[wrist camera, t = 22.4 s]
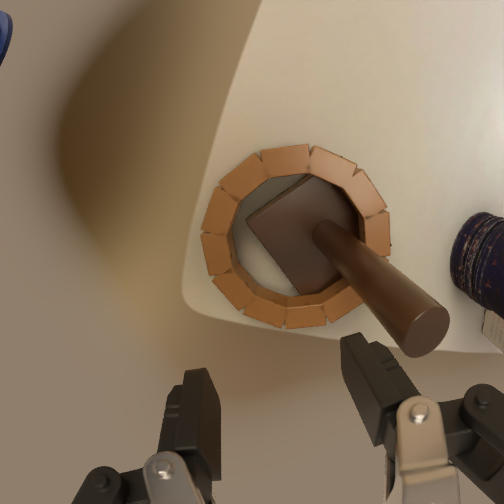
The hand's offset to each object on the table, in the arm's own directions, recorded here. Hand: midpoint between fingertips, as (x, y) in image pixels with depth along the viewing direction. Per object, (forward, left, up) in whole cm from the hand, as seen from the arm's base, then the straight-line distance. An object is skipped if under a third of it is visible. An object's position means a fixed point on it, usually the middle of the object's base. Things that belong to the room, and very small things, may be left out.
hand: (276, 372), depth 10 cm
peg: (+3, +6, -15) cm, 16 cm away
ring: (+1, +4, -14) cm, 14 cm away
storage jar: (+17, +21, -15) cm, 30 cm away
